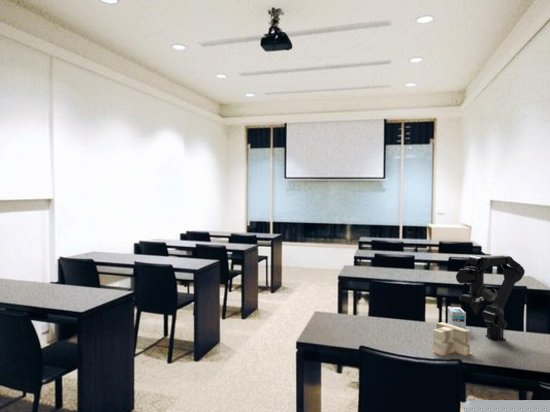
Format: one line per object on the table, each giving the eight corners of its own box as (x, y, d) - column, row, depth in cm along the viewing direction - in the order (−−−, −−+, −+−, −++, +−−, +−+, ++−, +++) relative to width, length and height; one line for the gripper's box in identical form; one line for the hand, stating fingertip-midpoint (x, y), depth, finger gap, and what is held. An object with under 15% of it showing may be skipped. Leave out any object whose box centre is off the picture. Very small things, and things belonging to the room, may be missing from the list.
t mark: (441, 342, 185) (441, 342, 185) (472, 353, 172) (472, 353, 172) (421, 348, 178) (421, 347, 178) (452, 360, 165) (452, 359, 165)
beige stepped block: (441, 342, 184) (442, 322, 184) (469, 352, 172) (469, 330, 172) (423, 348, 178) (424, 326, 177) (451, 359, 166) (451, 335, 165)
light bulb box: (466, 333, 198) (466, 312, 197) (452, 332, 199) (452, 311, 199) (460, 326, 208) (460, 306, 208) (447, 326, 209) (447, 306, 209)
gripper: (481, 287, 174) (481, 322, 175) (504, 283, 184) (504, 316, 184) (459, 283, 184) (458, 315, 184) (482, 279, 194) (481, 310, 194)
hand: (476, 314), depth 186 cm, fingers closed
